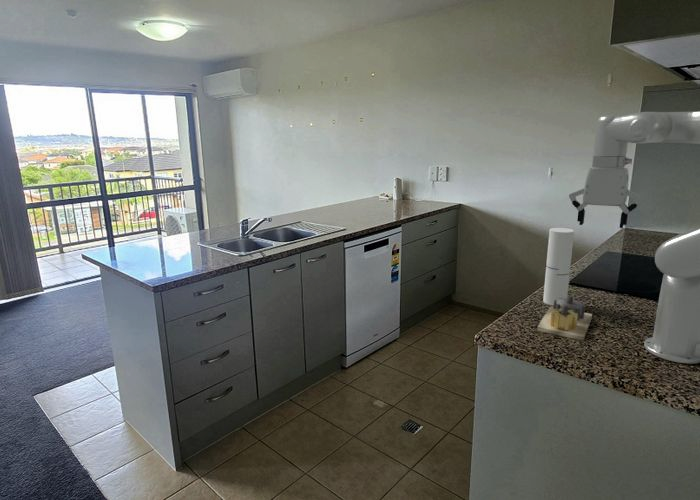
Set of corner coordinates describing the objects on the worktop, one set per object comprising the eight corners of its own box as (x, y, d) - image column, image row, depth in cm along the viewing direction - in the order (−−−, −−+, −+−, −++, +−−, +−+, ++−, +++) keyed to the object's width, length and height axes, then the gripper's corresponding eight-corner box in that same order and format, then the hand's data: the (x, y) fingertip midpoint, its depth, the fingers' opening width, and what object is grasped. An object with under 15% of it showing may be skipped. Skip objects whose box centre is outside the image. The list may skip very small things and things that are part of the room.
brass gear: (577, 324, 124) (579, 311, 123) (573, 332, 119) (575, 319, 118) (553, 319, 128) (554, 306, 127) (548, 327, 123) (549, 314, 122)
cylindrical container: (546, 296, 149) (553, 226, 143) (568, 301, 145) (576, 229, 138) (540, 303, 144) (546, 230, 137) (563, 307, 139) (571, 233, 133)
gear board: (591, 317, 131) (594, 295, 129) (583, 340, 117) (586, 316, 115) (549, 309, 138) (551, 289, 136) (537, 330, 124) (539, 307, 122)
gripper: (648, 162, 112) (638, 226, 116) (574, 162, 121) (568, 220, 126) (647, 164, 106) (637, 231, 110) (570, 163, 115) (564, 225, 120)
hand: (600, 225), depth 118 cm, fingers open, 9 cm apart
